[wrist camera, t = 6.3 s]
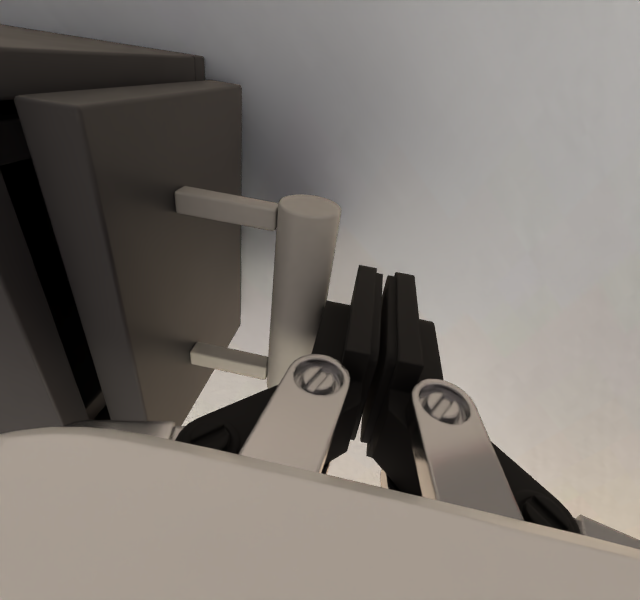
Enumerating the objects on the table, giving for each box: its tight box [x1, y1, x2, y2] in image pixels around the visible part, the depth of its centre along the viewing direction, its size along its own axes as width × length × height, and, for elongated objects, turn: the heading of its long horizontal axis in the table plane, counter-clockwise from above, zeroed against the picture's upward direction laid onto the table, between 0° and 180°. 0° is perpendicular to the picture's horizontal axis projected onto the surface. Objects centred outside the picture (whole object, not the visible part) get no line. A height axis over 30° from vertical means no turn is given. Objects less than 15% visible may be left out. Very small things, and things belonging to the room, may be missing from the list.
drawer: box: [0, 80, 341, 426], centre depth 12 cm, size 18×10×8 cm, turn 83°
